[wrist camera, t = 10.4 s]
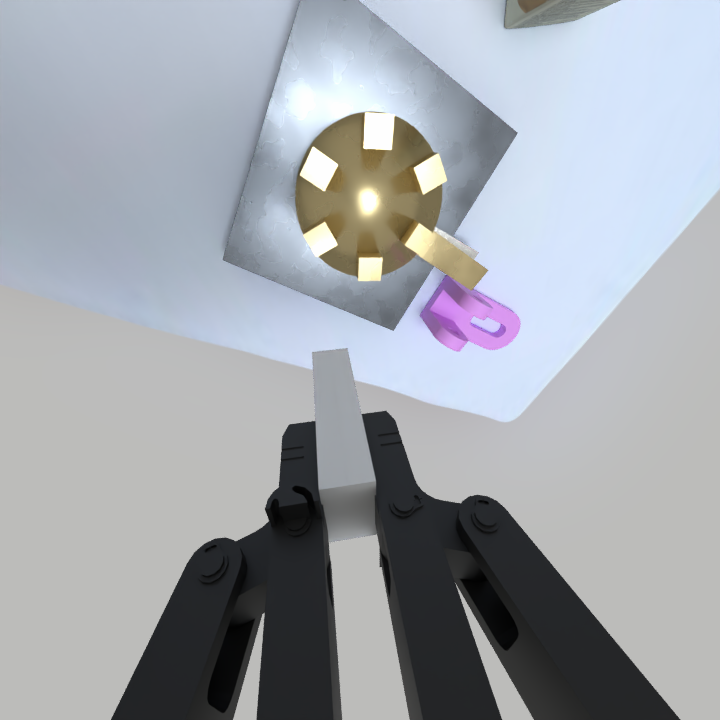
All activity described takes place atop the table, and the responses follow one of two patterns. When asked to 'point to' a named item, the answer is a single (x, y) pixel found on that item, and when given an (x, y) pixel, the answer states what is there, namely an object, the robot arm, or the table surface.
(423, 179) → the brass notched disc handle
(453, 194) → the base plate
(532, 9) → the skincare box
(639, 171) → the table surface
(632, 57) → the table surface
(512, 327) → the bracket
